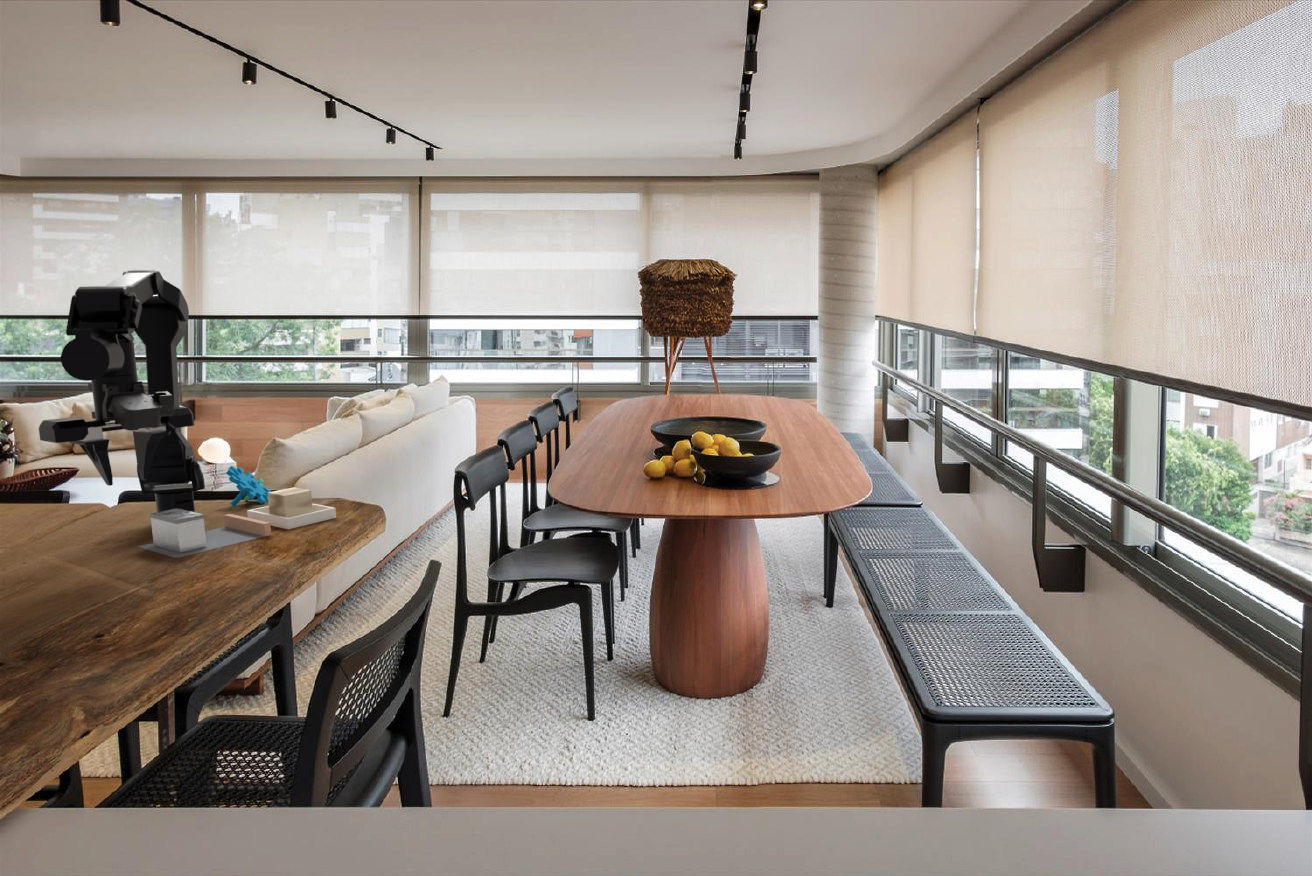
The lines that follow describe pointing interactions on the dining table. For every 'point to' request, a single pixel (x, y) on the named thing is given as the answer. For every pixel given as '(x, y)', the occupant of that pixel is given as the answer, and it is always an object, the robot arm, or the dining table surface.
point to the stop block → (290, 502)
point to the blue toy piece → (247, 486)
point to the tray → (316, 516)
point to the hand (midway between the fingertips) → (126, 482)
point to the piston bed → (223, 535)
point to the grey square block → (178, 530)
